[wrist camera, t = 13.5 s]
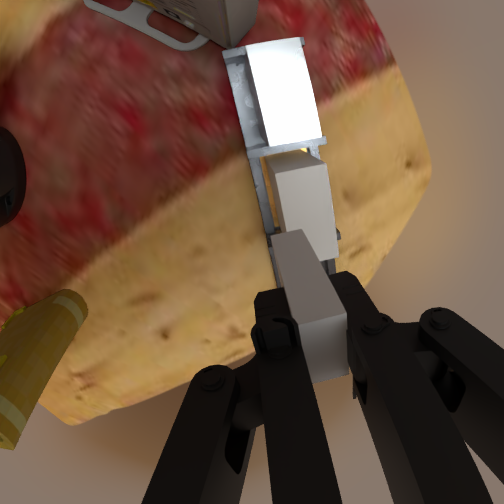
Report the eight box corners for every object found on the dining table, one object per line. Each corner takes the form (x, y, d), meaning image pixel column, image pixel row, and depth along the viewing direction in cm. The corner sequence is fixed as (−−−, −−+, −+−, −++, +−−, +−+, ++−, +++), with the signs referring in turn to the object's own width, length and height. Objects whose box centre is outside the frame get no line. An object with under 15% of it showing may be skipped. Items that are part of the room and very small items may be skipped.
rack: (280, 303, 41) (292, 363, 31) (225, 61, 29) (216, 34, 18) (335, 290, 41) (362, 346, 30) (293, 49, 28) (318, 19, 18)
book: (36, 340, 44) (-27, 444, 21) (14, 311, 41) (-60, 410, 19) (96, 317, 42) (26, 454, 19) (71, 281, 39) (-22, 410, 16)
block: (278, 223, 36) (293, 267, 26) (264, 156, 33) (274, 173, 23) (312, 216, 36) (339, 256, 26) (300, 148, 32) (326, 163, 22)
